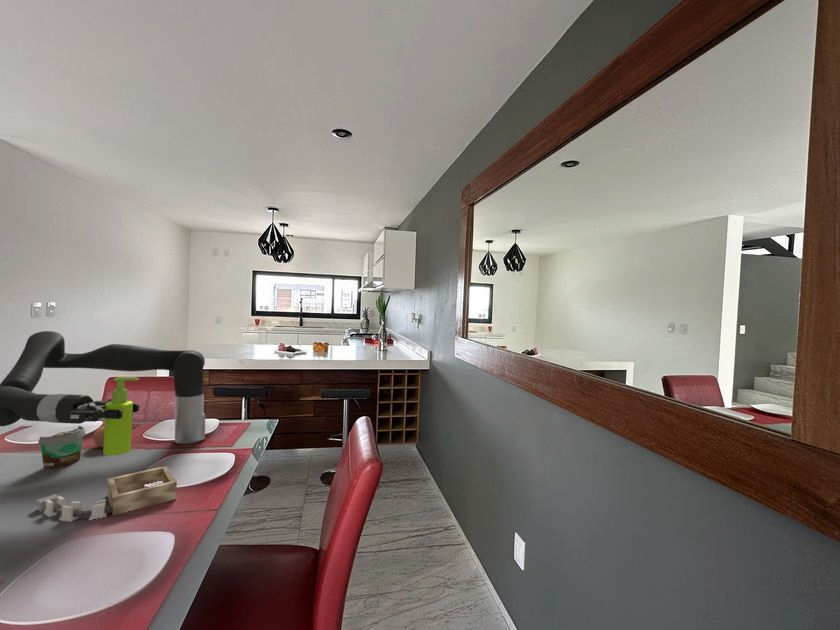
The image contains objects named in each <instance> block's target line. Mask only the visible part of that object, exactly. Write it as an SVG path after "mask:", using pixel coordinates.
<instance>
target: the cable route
mask: <svg viewBox="0 0 840 630" xmlns="http://www.w3.org/2000/svg"><path fill="white" fill-rule="evenodd" d="M106 502H107V499H106V498H104V499H100V500H95V501H92V505H91V510H90V509H89V510H83V501H75V500H74V501H71V504H70V505H71V506H70V505H65V503H66V501H65V498H64V497H63V496H61V495H58V494H56V493H55V494H51V495H49V496H46V497H45V496H44V497H41V498H39V499H36V510H37V511H38V510H39V511H40V513H43V514H44V515H45V516H47V517H48V518H51V517H55V516H57V515H58V516H60V517H59V521H62V522H70V523H72V522H74V521H76V520H77V519H80V518H88V517H89V518H88V521H89V520H91V521H94V520H93V519H96V520H98V519H97V518H100V519H103V518H102V517H105V518H107V516H106V515H108V513H112V506H110V505H109V506H107V505H106V504H107V503H106ZM45 510H46V511H45ZM39 511H38V512H39Z"/></svg>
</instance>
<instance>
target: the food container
mask: <svg viewBox="0 0 840 630" xmlns="http://www.w3.org/2000/svg"><path fill="white" fill-rule="evenodd" d="M85 435H86V430H85V428H84V427H83V426H81V425H78V426H77V428H75V429H72V430H68V431H62V432H59V433H56V434H54V435H52V436H39V439H38V442H37V445H40V450H41V458H42V466H43V469H56V468H57V469H58V468H62V467H67V466H71V465H74V464H76V463H78V462H79V461H80V460H81V454H82V445H83V443H82V442H83V437H84V436H85Z"/></svg>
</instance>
